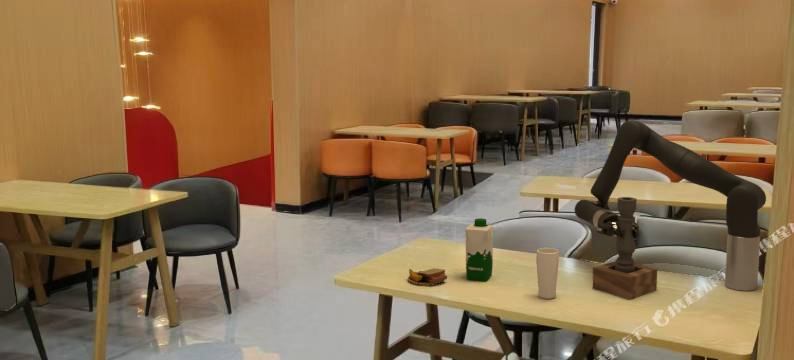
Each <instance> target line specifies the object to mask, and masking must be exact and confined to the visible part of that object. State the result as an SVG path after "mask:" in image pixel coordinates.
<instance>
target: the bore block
mask: <svg viewBox="0 0 794 360" xmlns="http://www.w3.org/2000/svg"><path fill="white" fill-rule="evenodd" d="M616 263H617V262H616V260H614V261H611V262H607V263H604V264H600V265H598V266H597V265H596V266H594V267H592V289H593V290H596V291H599V292H603V293H605V292H606V294H609V295H612V296H616V297H619V298H622V299H626V300H633V299H636V298H638V297H641V296H644V295H646V294H649V293H650V294H651V293H653V292H655V291H657V288H658V268H654V267H652V266H647V265H644V264H639V263H636V262H634V265H635V272H632V273H629V274H627V273H623V272H620V271H616V270H615V264H616Z"/></svg>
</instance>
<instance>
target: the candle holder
mask: <svg viewBox="0 0 794 360" xmlns="http://www.w3.org/2000/svg"><path fill="white" fill-rule="evenodd" d="M637 201H638V200H637V198H635V197H630V196H621V197H618V198H617V207H616V208H617V210H618V213H619V217H618V220H619V221H620V230H621V231H623V232H624V238H623V239H621V238H619V237H618V236H617V239H616V243H615V246H614V247H615V251H616V252H617V255H618V256H617V258H616V259H615V261H616V262H617V263H616V264H615V270H616V271H620V272H623V273H627V274H629V273H632V272H635V265H634V263H635V260H634V258H633V254H634V253H635V252H636V248H637V247H636V242H635V238H634V237H633V231H632V229H633V223H634V222H635V220H636V217H635V216H634V214H635V213H636V210H637Z"/></svg>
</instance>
